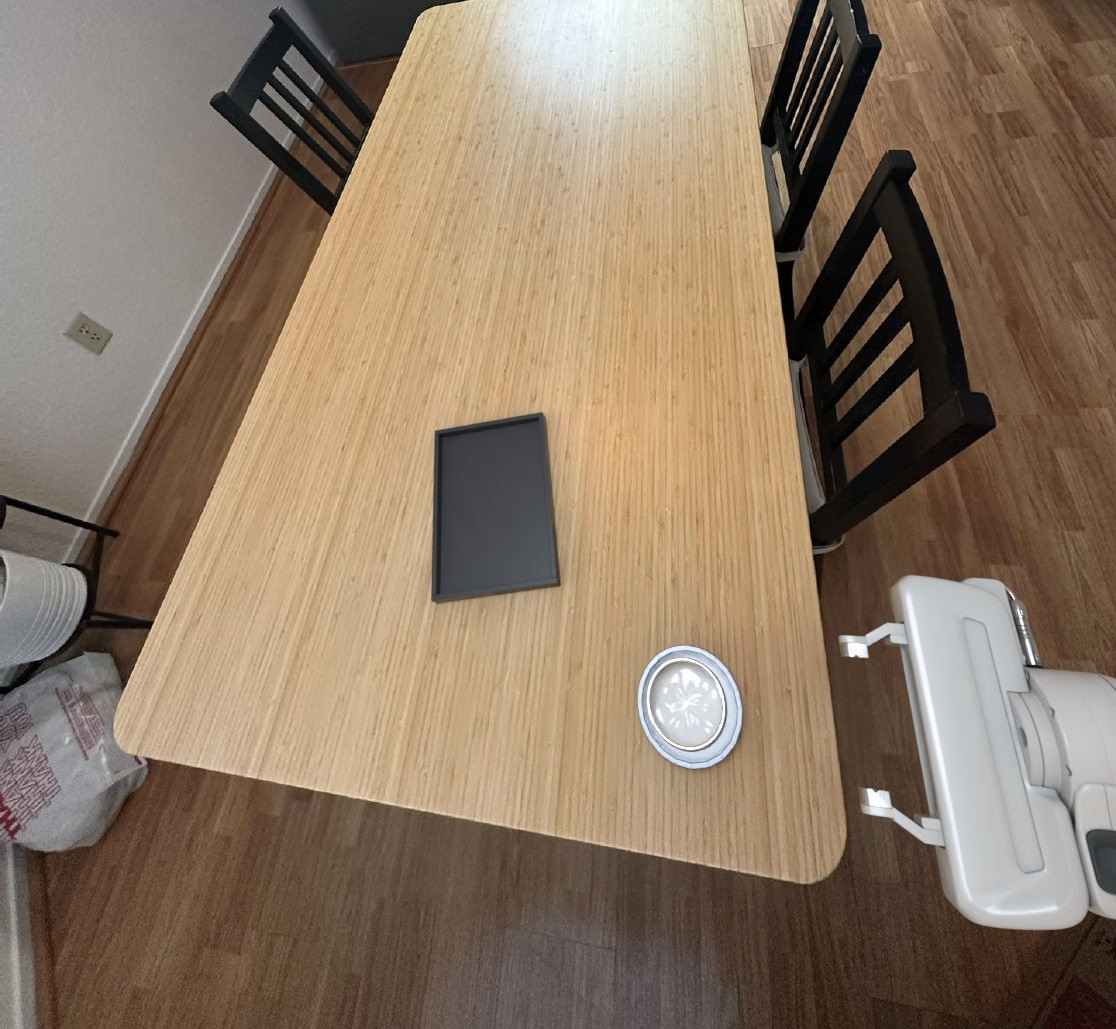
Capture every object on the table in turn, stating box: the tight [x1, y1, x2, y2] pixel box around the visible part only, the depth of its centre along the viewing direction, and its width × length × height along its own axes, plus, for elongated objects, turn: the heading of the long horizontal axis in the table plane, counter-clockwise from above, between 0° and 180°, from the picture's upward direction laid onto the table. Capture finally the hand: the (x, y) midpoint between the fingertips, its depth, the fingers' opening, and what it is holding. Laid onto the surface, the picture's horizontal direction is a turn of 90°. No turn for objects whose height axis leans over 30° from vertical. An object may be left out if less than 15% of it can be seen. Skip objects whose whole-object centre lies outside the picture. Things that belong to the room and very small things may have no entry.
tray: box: [430, 411, 561, 604], centre depth 80 cm, size 21×15×2 cm
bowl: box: [636, 644, 744, 771], centre depth 63 cm, size 10×10×4 cm
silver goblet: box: [646, 657, 727, 752], centre depth 58 cm, size 7×7×15 cm
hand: (850, 718), depth 47 cm, fingers open, 8 cm apart
